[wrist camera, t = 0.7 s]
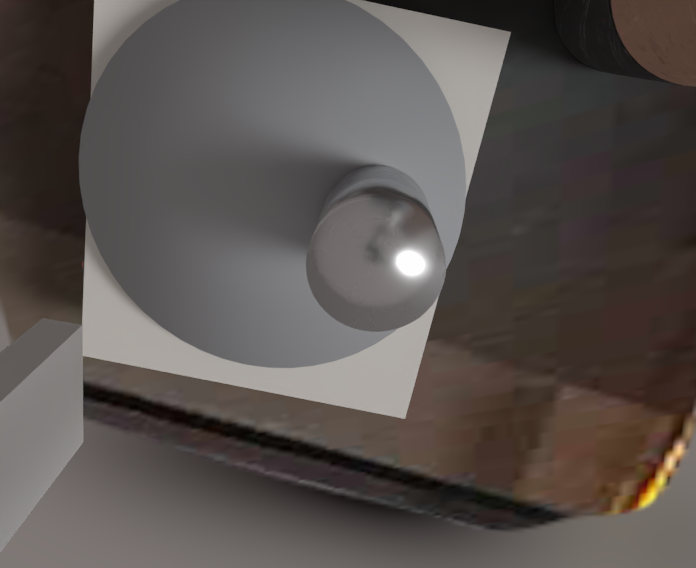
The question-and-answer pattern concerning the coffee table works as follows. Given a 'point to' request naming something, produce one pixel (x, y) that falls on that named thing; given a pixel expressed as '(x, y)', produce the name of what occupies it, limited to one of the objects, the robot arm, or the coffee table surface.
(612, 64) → the travel mug
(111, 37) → the scale
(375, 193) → the cylinder
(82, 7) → the coffee table surface
